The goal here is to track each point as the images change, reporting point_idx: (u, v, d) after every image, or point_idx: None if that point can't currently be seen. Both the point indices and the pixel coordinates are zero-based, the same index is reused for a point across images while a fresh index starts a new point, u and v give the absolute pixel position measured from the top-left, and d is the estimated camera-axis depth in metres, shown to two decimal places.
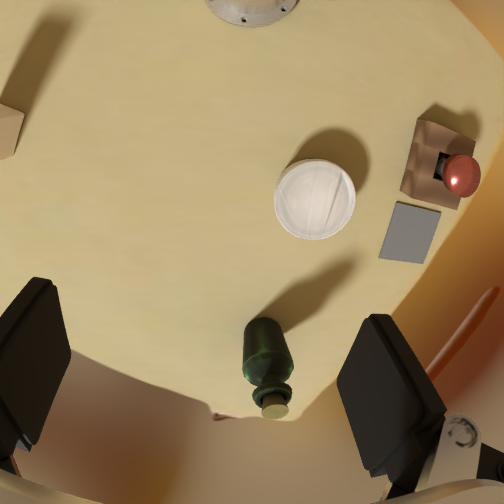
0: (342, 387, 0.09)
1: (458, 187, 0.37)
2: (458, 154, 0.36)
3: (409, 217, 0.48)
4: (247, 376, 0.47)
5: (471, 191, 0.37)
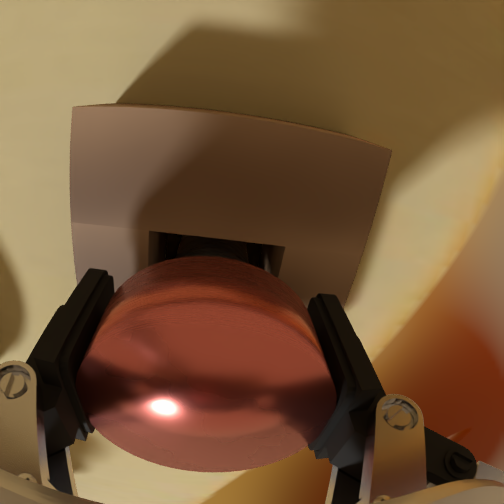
0: None
1: (160, 451, 0.07)
2: (154, 279, 0.07)
3: None
4: None
5: (266, 455, 0.07)
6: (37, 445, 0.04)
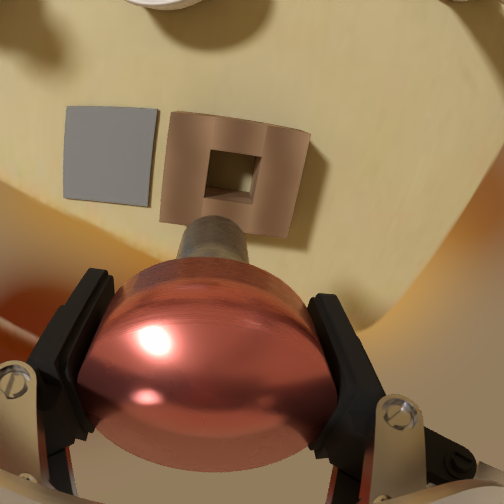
0: None
1: (161, 451, 0.07)
2: (155, 279, 0.07)
3: (133, 140, 0.28)
4: None
5: (266, 455, 0.07)
6: (37, 445, 0.04)
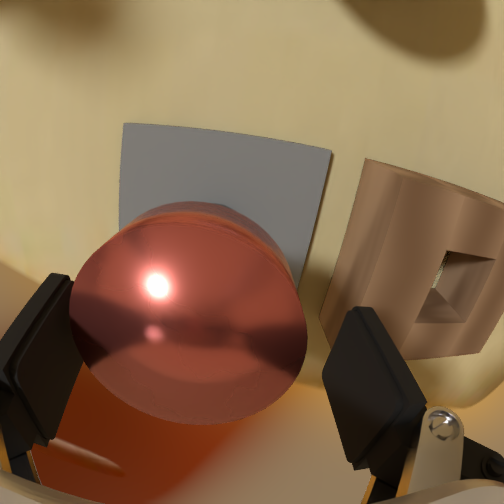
0: (327, 380, 0.10)
1: (140, 389, 0.08)
2: (149, 213, 0.08)
3: (278, 206, 0.16)
4: None
5: (243, 402, 0.08)
6: None
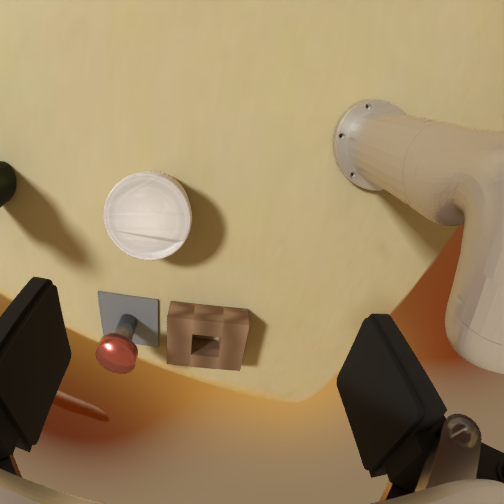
0: (342, 387, 0.09)
1: (109, 366, 0.41)
2: (107, 336, 0.41)
3: (145, 315, 0.48)
4: None
5: (127, 369, 0.41)
6: None
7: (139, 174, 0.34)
